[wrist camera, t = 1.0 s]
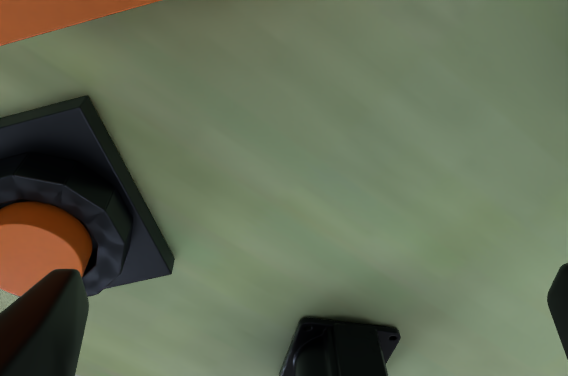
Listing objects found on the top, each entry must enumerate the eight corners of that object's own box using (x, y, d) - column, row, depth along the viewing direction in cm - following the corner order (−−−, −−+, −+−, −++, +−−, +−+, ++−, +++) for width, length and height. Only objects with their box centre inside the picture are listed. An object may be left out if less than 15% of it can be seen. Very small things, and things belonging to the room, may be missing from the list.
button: (109, 263, 23) (100, 288, 22) (24, 282, 23) (11, 307, 22) (62, 190, 20) (49, 213, 19) (-32, 213, 21) (-51, 237, 20)
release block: (175, 258, 26) (166, 301, 24) (40, 288, 27) (19, 332, 25) (88, 94, 21) (65, 127, 18) (-79, 138, 22) (-122, 176, 19)
